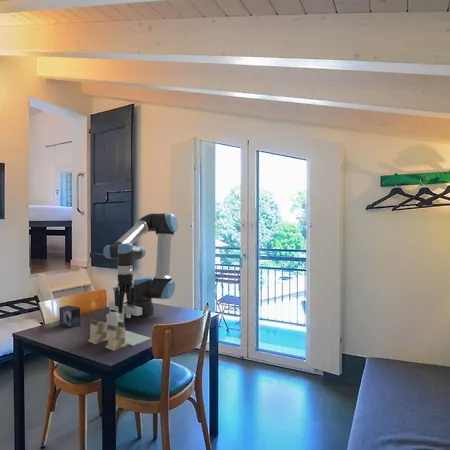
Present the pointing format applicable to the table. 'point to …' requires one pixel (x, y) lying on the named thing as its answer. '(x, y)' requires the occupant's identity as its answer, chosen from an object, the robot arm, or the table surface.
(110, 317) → the medicine bottle
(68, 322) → the small box
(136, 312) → the rail
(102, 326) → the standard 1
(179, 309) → the table surface
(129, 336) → the mat
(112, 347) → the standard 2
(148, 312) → the robot arm
